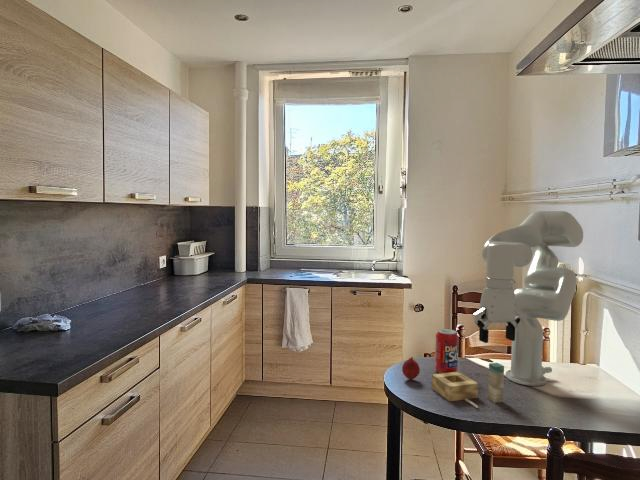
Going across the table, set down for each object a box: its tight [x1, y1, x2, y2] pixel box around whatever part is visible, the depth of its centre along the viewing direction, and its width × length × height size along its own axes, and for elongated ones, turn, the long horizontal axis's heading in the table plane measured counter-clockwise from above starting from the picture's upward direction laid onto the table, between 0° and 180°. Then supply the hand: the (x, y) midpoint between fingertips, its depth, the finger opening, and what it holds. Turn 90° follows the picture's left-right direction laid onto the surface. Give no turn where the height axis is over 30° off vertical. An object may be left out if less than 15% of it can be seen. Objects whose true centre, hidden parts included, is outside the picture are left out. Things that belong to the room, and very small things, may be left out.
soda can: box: [434, 328, 460, 374], centre depth 149 cm, size 8×8×15 cm
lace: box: [464, 398, 479, 409], centre depth 123 cm, size 5×1×1 cm, turn 17°
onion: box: [401, 356, 421, 381], centre depth 141 cm, size 6×6×8 cm
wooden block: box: [430, 371, 479, 402], centre depth 131 cm, size 10×10×4 cm
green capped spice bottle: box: [487, 362, 505, 404], centre depth 126 cm, size 3×3×11 cm
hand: (496, 340), depth 125 cm, fingers open, 9 cm apart
